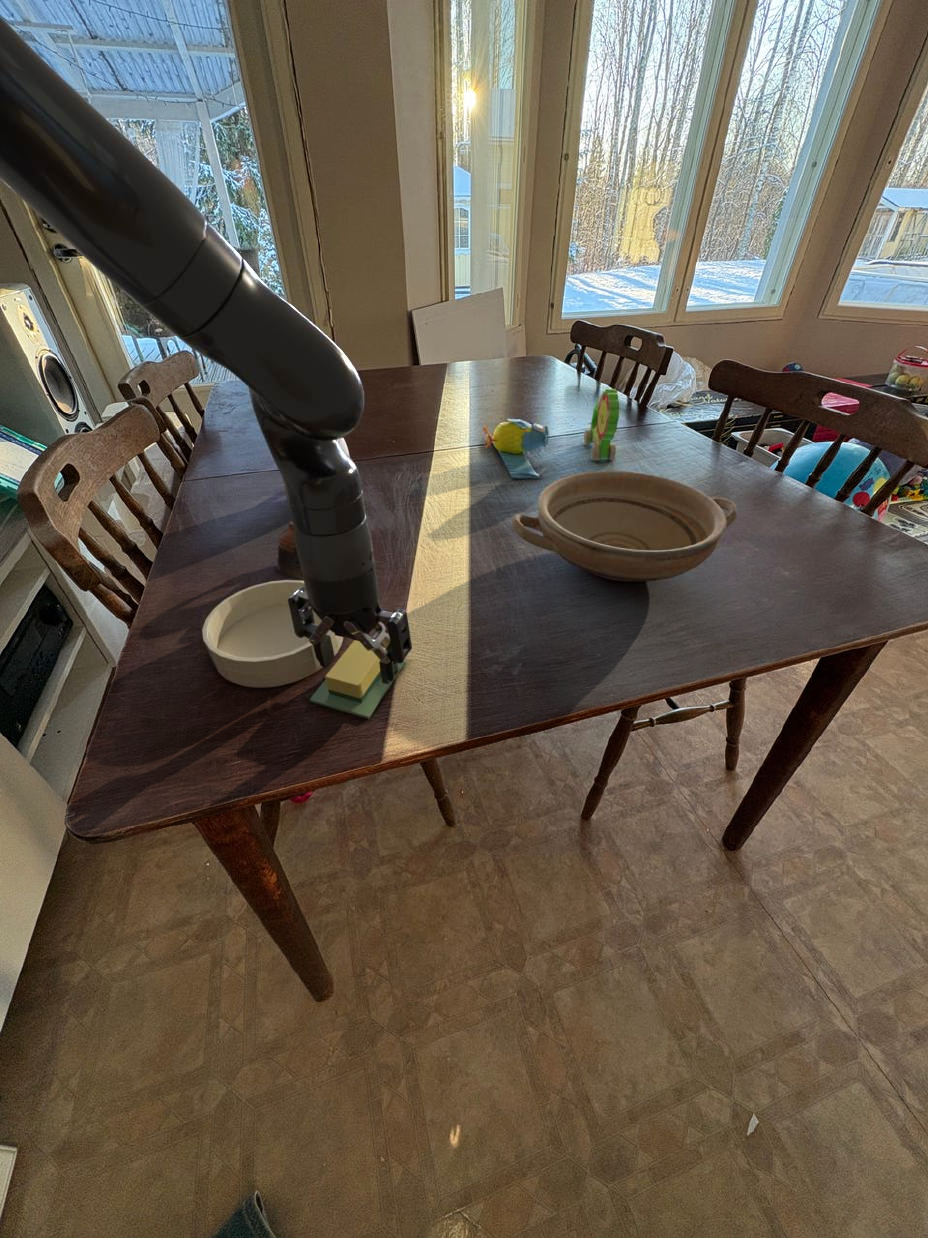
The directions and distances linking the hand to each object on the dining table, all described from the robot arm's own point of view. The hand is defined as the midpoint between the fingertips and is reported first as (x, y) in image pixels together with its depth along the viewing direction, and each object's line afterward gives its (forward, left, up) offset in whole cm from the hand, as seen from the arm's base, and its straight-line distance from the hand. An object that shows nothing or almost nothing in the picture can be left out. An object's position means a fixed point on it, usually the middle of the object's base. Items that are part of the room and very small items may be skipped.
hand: (358, 671), depth 63 cm
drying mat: (0, 0, -2) cm, 2 cm away
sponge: (0, 0, -2) cm, 2 cm away
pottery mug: (+21, +21, -2) cm, 30 cm away
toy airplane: (+80, +2, -2) cm, 80 cm away
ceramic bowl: (+40, -27, -2) cm, 48 cm away
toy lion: (+88, -17, -2) cm, 90 cm away
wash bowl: (+3, +14, -2) cm, 15 cm away
